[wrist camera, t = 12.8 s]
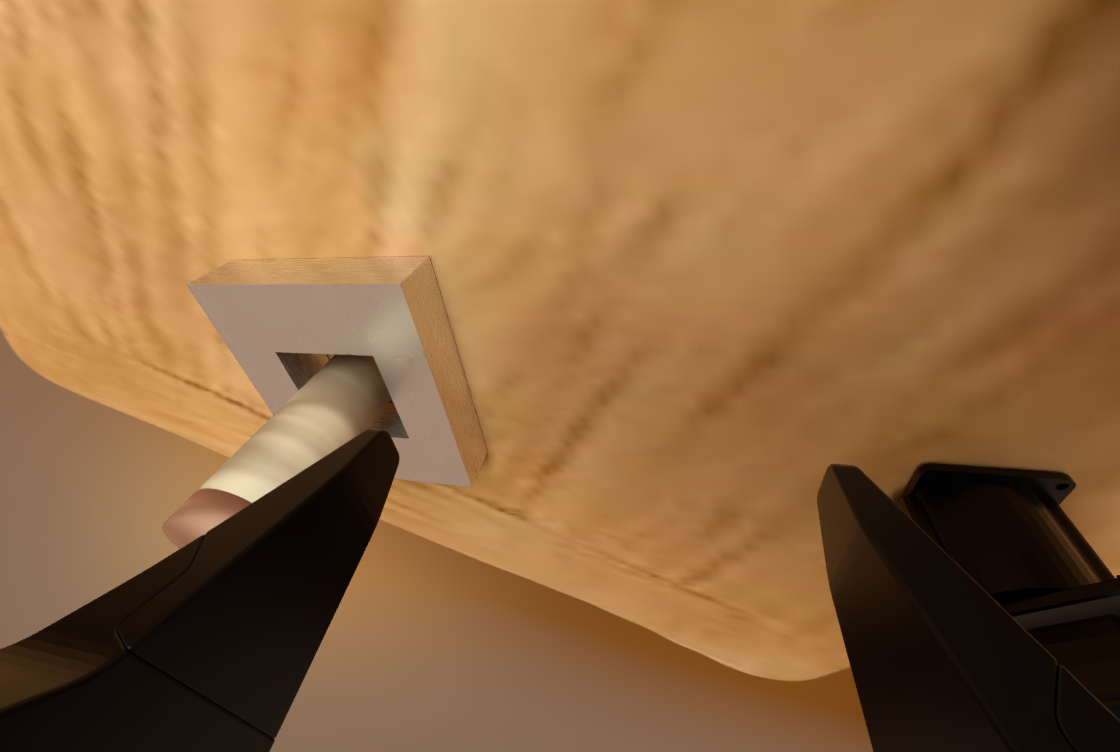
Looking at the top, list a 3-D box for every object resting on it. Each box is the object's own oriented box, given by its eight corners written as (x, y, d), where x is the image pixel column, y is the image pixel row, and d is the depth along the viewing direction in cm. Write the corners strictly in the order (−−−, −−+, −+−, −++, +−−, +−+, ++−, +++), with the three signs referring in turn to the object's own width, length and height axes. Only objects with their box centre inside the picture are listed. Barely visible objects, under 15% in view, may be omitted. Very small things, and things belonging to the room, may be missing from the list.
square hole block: (429, 256, 22) (400, 283, 20) (487, 451, 30) (471, 487, 28) (232, 259, 25) (186, 284, 22) (335, 438, 33) (310, 469, 31)
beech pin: (376, 331, 26) (199, 515, 16) (416, 383, 28) (279, 574, 18) (329, 347, 27) (143, 524, 18) (370, 396, 29) (222, 578, 20)
